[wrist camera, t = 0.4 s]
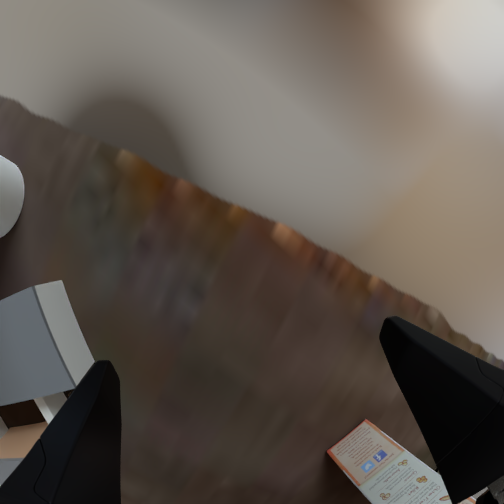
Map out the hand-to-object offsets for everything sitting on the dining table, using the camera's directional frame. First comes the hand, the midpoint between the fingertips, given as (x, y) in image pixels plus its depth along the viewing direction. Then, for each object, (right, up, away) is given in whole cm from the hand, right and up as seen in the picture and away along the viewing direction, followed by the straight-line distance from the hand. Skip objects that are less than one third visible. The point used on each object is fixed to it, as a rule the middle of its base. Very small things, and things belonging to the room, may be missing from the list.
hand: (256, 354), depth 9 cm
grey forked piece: (-22, -10, +9) cm, 26 cm away
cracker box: (+13, -22, +18) cm, 31 cm away
